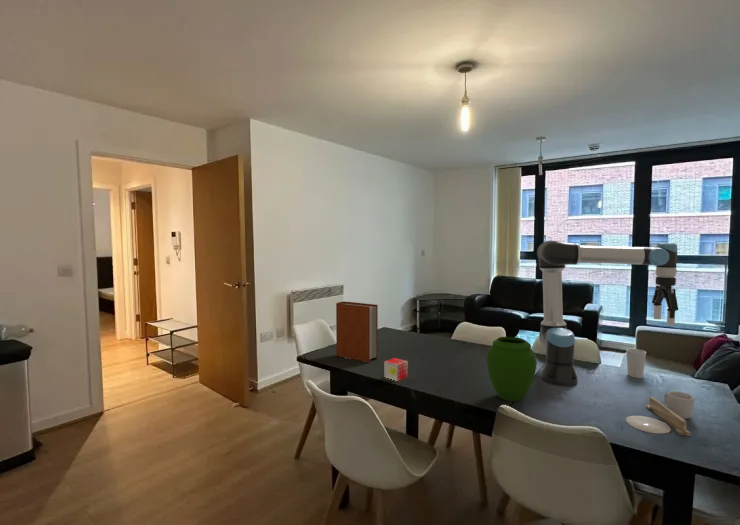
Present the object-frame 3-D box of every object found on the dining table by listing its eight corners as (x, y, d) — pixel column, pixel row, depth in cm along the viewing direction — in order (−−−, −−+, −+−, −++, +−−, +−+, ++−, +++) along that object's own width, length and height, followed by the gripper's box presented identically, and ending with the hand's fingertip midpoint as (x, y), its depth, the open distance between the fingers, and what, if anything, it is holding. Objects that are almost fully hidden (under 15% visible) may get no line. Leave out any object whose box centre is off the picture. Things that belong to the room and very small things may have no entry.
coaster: (636, 432, 136) (636, 431, 136) (619, 415, 149) (619, 414, 149) (679, 435, 134) (679, 434, 134) (658, 418, 147) (658, 417, 147)
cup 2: (655, 408, 155) (656, 388, 155) (674, 408, 156) (675, 387, 155) (678, 421, 144) (679, 399, 144) (699, 420, 145) (700, 398, 145)
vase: (531, 412, 152) (532, 348, 151) (479, 401, 162) (480, 341, 161) (539, 395, 169) (541, 338, 167) (492, 386, 179) (493, 332, 177)
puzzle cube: (384, 377, 190) (384, 361, 190) (394, 373, 196) (394, 357, 195) (397, 382, 185) (397, 365, 184) (407, 377, 190) (408, 361, 190)
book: (377, 359, 219) (377, 304, 217) (369, 363, 212) (369, 306, 210) (343, 352, 231) (343, 301, 230) (335, 356, 225) (334, 303, 223)
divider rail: (680, 434, 134) (680, 421, 134) (645, 407, 156) (646, 395, 156) (690, 435, 134) (690, 422, 134) (654, 407, 156) (654, 396, 156)
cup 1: (648, 379, 188) (649, 353, 187) (629, 377, 189) (630, 352, 189) (640, 373, 196) (641, 349, 195) (622, 372, 197) (623, 348, 196)
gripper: (689, 279, 172) (686, 328, 173) (662, 274, 196) (660, 317, 197) (669, 278, 174) (666, 327, 175) (645, 274, 198) (643, 316, 199)
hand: (663, 322), depth 186 cm, fingers open, 13 cm apart
